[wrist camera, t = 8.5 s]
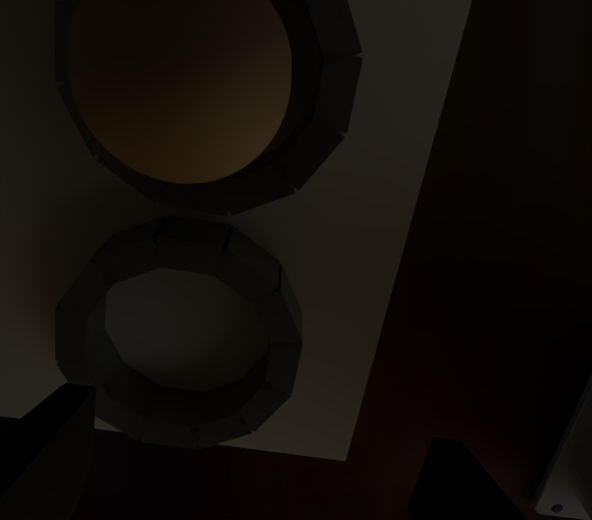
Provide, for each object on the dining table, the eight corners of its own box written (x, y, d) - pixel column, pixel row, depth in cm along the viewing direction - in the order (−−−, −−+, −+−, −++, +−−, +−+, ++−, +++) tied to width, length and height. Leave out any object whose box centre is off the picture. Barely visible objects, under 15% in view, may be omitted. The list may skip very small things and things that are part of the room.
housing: (487, -95, 16) (529, -119, 13) (343, 443, 23) (350, 499, 21) (-16, -203, 15) (-88, -254, 12) (10, 399, 22) (-30, 452, 20)
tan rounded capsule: (307, -3, 16) (315, -19, 10) (274, 146, 17) (265, 203, 12) (154, -43, 15) (74, -82, 10) (135, 114, 17) (59, 157, 11)
